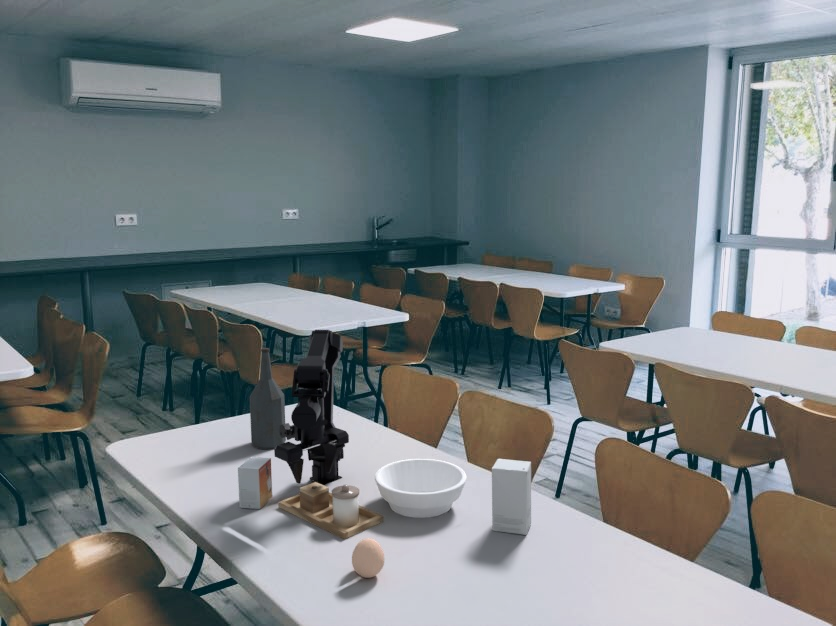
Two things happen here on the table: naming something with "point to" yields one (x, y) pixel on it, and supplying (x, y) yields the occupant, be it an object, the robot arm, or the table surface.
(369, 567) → the egg
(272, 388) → the bottle
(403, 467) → the bowl
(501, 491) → the skincare box
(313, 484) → the beige box
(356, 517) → the sugar jar
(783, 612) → the table surface
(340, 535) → the caddy
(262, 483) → the small box
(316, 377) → the robot arm
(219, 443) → the table surface
